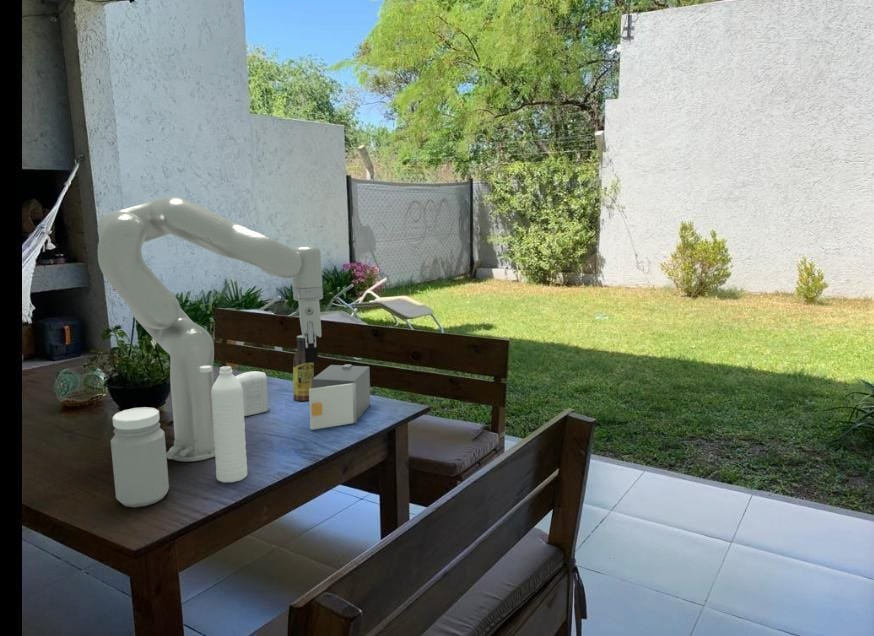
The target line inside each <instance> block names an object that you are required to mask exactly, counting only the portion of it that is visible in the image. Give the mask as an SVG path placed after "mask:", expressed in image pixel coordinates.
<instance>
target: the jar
mask: <svg viewBox="0 0 874 636" xmlns="http://www.w3.org/2000/svg"><path fill="white" fill-rule="evenodd" d="M112 426H113V427H114V429H113V433H114V435H113V437H112V438H111V439H110V448H111V458H112V459H111V461H112V472H113V480H114V490H115V499H116V500H117V501H118V502H120V503H121V504H122V506H124V507H129V508H140V507H146V506H149V505H152V504H156V503H157V502H159V501H161V500H162V499H164V498H165V496H166V495H167V493H168V491H169V488H170V484H169V483H170V482H169V470H168V460H167V459H168V458H167V457H166V452H167V446H166V435H165V434H166V433H165V431H164V430H163V429H162V428H161V427H160V426H161V423H160V410H158V409H156V408H155V407H147V406H143V407H133V408H129V409H123V410H122V411H118V412H117V413H114V415H113V416H112Z"/></svg>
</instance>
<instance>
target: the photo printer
mask: <svg viewBox="0 0 874 636" xmlns="http://www.w3.org/2000/svg"><path fill="white" fill-rule="evenodd" d="M234 376H235V377H236V378H237V380H238V381H239V382H240V383H241V385H242V388H243V406H244V417H248V416H252V415H256V414H261V413H262V414H263V413H265V412H268V411H269V398H268V378H267V375H266V373H265V372H263V371H255V370H254V371H252V370H251V371H245V372H243V373H240V374H237V375H234Z"/></svg>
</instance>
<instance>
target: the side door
mask: <svg viewBox="0 0 874 636" xmlns="http://www.w3.org/2000/svg"><path fill="white" fill-rule="evenodd" d="M308 403H309V425H310V426H309V428H310V430H316V429H317V430H319V429H323V428H331V427H336V426H343V425H348V424H351V425H352V424H356V423H357V421H356V383H350V384H342V385H334V386H326V387H319V388H311V389H309V400H308Z"/></svg>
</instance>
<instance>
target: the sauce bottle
mask: <svg viewBox="0 0 874 636" xmlns="http://www.w3.org/2000/svg"><path fill="white" fill-rule="evenodd" d="M296 342H297V343H296V344H297V345H296V352H295V354H294V357H293V366H292V368H293V369H292V373H293V374H292V377H293V378H292V383H293V385H292V387H293V388H292V389H293V390H292V391H293V399H294V400H295V401H300V402H302V401H303V402H304V401H309V389H311V388H312V379H313V378H314V377H315V376H314V374H315V373H314V368H315V367H314V363H315V362H309V363H307V362H306V360H305V347H306V343H305V338H303V336H302V334H300V335H297V336H296Z"/></svg>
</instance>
